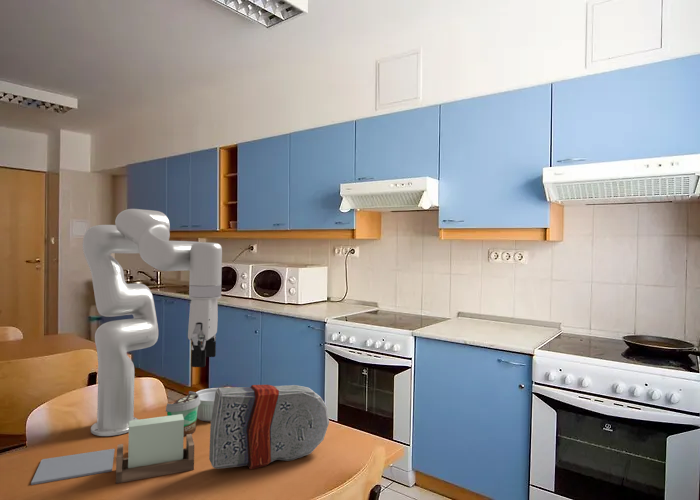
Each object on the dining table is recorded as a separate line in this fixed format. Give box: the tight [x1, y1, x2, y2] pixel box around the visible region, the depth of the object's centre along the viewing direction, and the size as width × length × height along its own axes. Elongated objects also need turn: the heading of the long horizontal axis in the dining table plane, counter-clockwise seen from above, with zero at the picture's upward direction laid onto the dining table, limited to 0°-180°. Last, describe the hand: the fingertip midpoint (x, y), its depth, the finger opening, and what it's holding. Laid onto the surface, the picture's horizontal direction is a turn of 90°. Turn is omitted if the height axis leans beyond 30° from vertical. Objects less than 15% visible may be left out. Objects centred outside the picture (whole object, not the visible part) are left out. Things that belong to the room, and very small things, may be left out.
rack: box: [115, 434, 195, 484], centre depth 108 cm, size 7×17×6 cm, turn 115°
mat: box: [30, 448, 116, 486], centre depth 109 cm, size 12×16×1 cm
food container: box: [165, 390, 201, 438], centre depth 130 cm, size 12×6×10 cm, turn 168°
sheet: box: [127, 414, 185, 468], centre depth 108 cm, size 4×12×12 cm, turn 115°
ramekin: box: [195, 387, 219, 422], centre depth 144 cm, size 13×13×7 cm
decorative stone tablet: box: [208, 384, 330, 470], centre depth 114 cm, size 19×6×30 cm
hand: (204, 361), depth 111 cm, fingers open, 9 cm apart
